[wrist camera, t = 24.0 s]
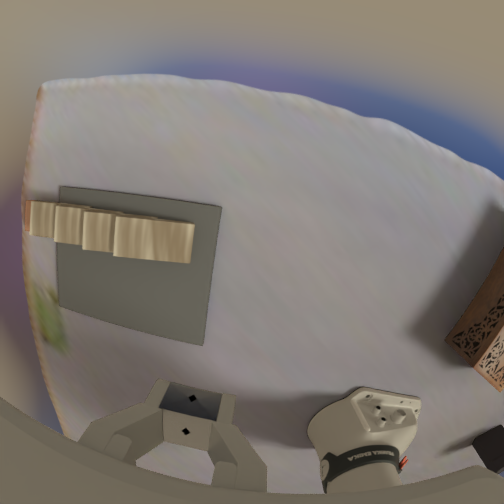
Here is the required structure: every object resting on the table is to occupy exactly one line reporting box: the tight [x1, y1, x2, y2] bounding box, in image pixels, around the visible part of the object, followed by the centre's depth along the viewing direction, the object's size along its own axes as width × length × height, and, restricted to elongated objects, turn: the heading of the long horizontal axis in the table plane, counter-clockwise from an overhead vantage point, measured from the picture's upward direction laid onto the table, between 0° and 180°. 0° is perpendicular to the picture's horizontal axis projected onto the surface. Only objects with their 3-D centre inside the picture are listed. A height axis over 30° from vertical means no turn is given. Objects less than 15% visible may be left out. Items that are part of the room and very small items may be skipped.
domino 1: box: [30, 200, 92, 238], centre depth 35 cm, size 2×5×10 cm
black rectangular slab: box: [472, 425, 504, 474], centre depth 38 cm, size 11×4×15 cm, turn 96°
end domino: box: [25, 200, 35, 231], centre depth 37 cm, size 2×5×10 cm
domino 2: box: [54, 205, 124, 245], centre depth 35 cm, size 2×5×10 cm
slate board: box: [57, 187, 222, 346], centre depth 39 cm, size 26×20×1 cm
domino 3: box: [82, 210, 158, 253], centre depth 35 cm, size 2×5×10 cm
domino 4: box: [113, 215, 195, 263], centre depth 35 cm, size 2×5×10 cm
